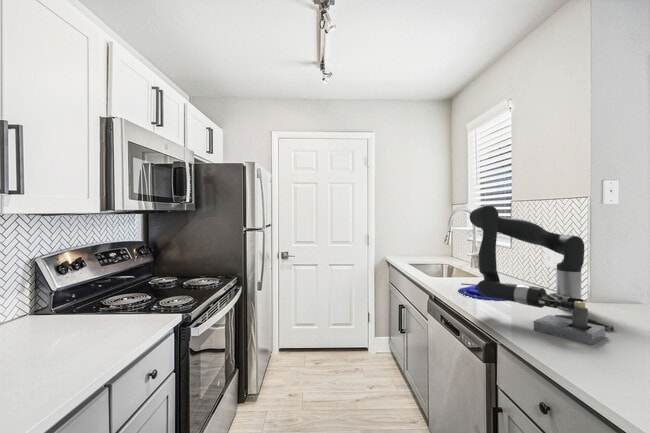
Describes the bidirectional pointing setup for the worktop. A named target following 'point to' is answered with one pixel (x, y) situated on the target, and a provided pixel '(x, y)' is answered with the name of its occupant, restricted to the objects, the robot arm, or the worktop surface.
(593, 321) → the handgun
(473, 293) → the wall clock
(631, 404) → the worktop surface
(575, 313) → the plug
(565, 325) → the housing
